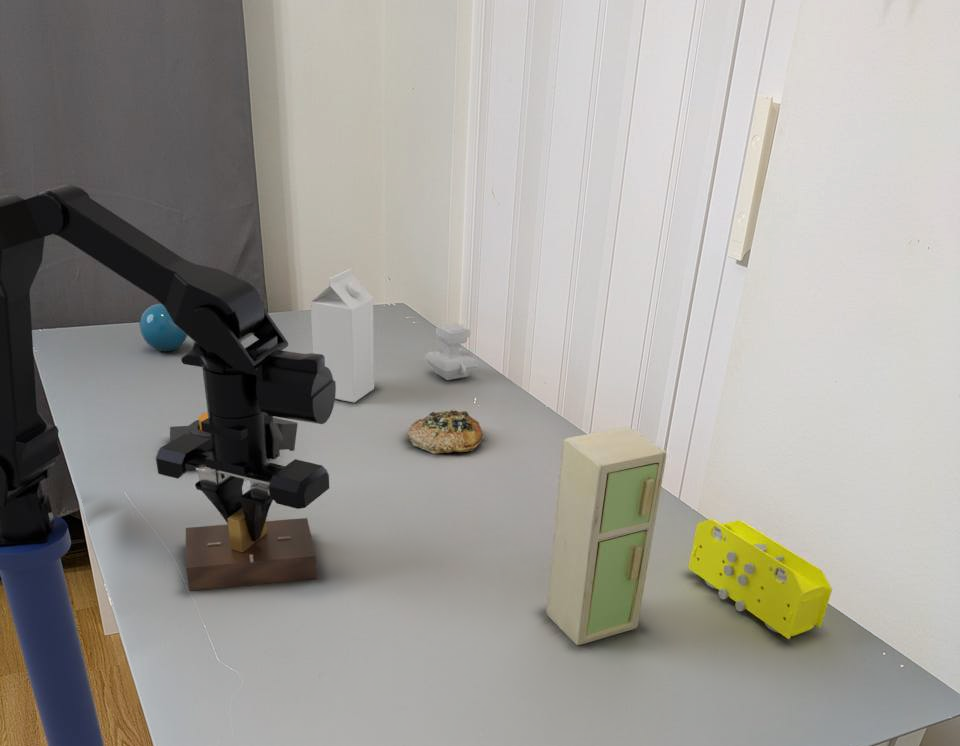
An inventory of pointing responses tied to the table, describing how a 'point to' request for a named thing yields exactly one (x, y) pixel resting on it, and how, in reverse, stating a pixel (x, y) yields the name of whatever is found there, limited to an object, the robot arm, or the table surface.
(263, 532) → the thumbturn
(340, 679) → the table surface
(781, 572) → the yellow toy chassis
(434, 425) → the bread roll
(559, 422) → the table surface
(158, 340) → the ball
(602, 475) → the toy refrigerator
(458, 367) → the stamp
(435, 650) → the table surface
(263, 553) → the plate
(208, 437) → the block
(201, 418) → the bell button
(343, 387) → the milk carton
